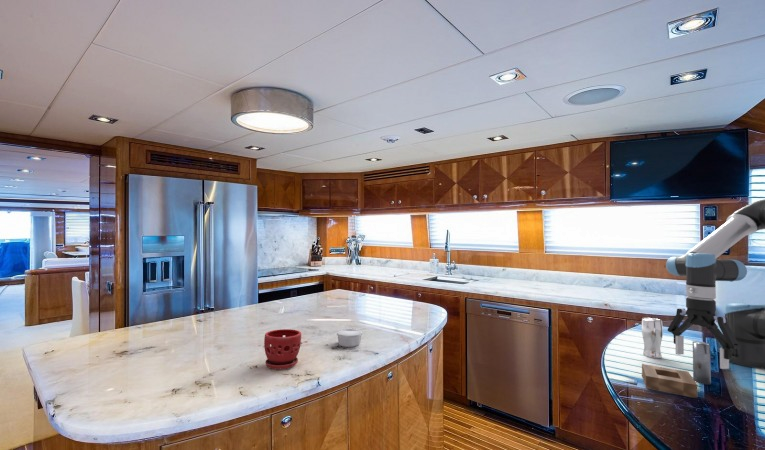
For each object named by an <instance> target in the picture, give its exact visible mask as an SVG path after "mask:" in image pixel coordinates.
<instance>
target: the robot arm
mask: <svg viewBox="0 0 765 450" xmlns="http://www.w3.org/2000/svg"><path fill="white" fill-rule="evenodd" d="M762 230H765V199H762V200H757V201H754V202H752V203H751V202H750V203H749V204H746V205H745V206H743V207H741V208H739V209H738V210H736V211H734V212H733V213H731V214H730V215H729V216H727V218H726V221H725V223H723V224H722V225H720V226H719V227H718V228H717V229H715V230H714V231H713V232H712V233H710V234H709V235H708V236H706V237H705V238H704V239H702V240H701V241H699V243H697V244H696V245H695V246H693V247H692V248H691V249H689V250H688V251H687V252H685V253H683V254H682V255H681V256H679V255H678V256H677V255H676V256H671V257H669V258H667V260H666V263H665V267H666V270H667V272H668V273H670V274H671V275H673V276H679V277H684V278H686V280H685V281H686V282H685V296H686V298H685V307H686V308H676V313H675V316H674V318H673V319H672V321H671V323H670V325H669V326H668V328H667V332H668V333H672V335H673V344H674V345H675V355H684V354H685V352H684V350H685V347H684V346H685V344H684V343H685V342H684V341H685V339H684V335H682V334H683V333H685V332H686V331H687V330H688V329H689V328H690V327H692V326H693V325H694V326H700V327H703V328H706V329H707V330H709V332H710V333H711V334H712V335H713V337H714V338H715V340H717V341H718V343H719V344H720V345H721V347H719V369H722V370H729V369H730V363H733V364H736V365H740V366H744V367H749V368H756V369H765V304H764V303H749V302H747V303H744V302H737V303H736V302H735V303H733V302H731V303H727V304H726V305H725V307H724V315H723V316H717V315H716V311H717V307H716V306H717V301H716V300H715V299H716V298H717V296H716V295H717V293H716V292H717V287H716V282H732V283H733V282H738V281H742V280H743V279H744V278H746V276H747V273H748V268H747V266H746V265H745V264H744V262H742V261H739V260H738V259H728V258H725V259H723V258H720V259H719V257H720V256H721V255H723V254H724V253H725V252H727V251H728V250H729V249H730V248H731V247H733V246H734V245H735V244H736V243H738V242H739V241H740V240H742V239H743V238H745V237H746V236H749V235H753V234H755V233H756V232H757V231H762ZM686 316H687V318H686V319H684V318H685V317H686ZM683 320H684V322H683ZM682 322H683V323H682Z"/></svg>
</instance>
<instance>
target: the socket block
mask: <svg viewBox="0 0 765 450" xmlns="http://www.w3.org/2000/svg"><path fill="white" fill-rule="evenodd" d="M641 377H642V379H643V383H644V386H645V388H646V389H647V390H648V389H649V390H654V391H658V392H659V391H660V392H663V393H667V394H674V395H678V396H679V395H680V396H684V397H688V398H693V399H698V383H697V382H695V381H694V379H693V375H691V374H690V372H689V371H688V370H681V369H676V368H675V369H674V368H668V367H662V366H657V365H652V364H651V365H650V364H645V363H641Z"/></svg>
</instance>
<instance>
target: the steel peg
mask: <svg viewBox="0 0 765 450" xmlns="http://www.w3.org/2000/svg"><path fill="white" fill-rule="evenodd" d="M711 368H712V367H711V343H708V342H704V341H697V340H693V341H692V372H693V373H692V378H693V379H694V381H696V383H697V382H698V383H697V384H702V385H708V386H709V385H712V384H711V383H712V380H711V379H712V378H711V377H712V375H711V371H712V369H711Z"/></svg>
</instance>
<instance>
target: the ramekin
mask: <svg viewBox="0 0 765 450" xmlns="http://www.w3.org/2000/svg"><path fill="white" fill-rule="evenodd" d="M336 335H337V342H338V344H339V346H341V347H346V348H352V347H357V346H359V345H360V343H361V341H362V335H363V331H362V330H359V329H356V328H355V329H353V328H345V329H340V330H338V331H337V332H336Z"/></svg>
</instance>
